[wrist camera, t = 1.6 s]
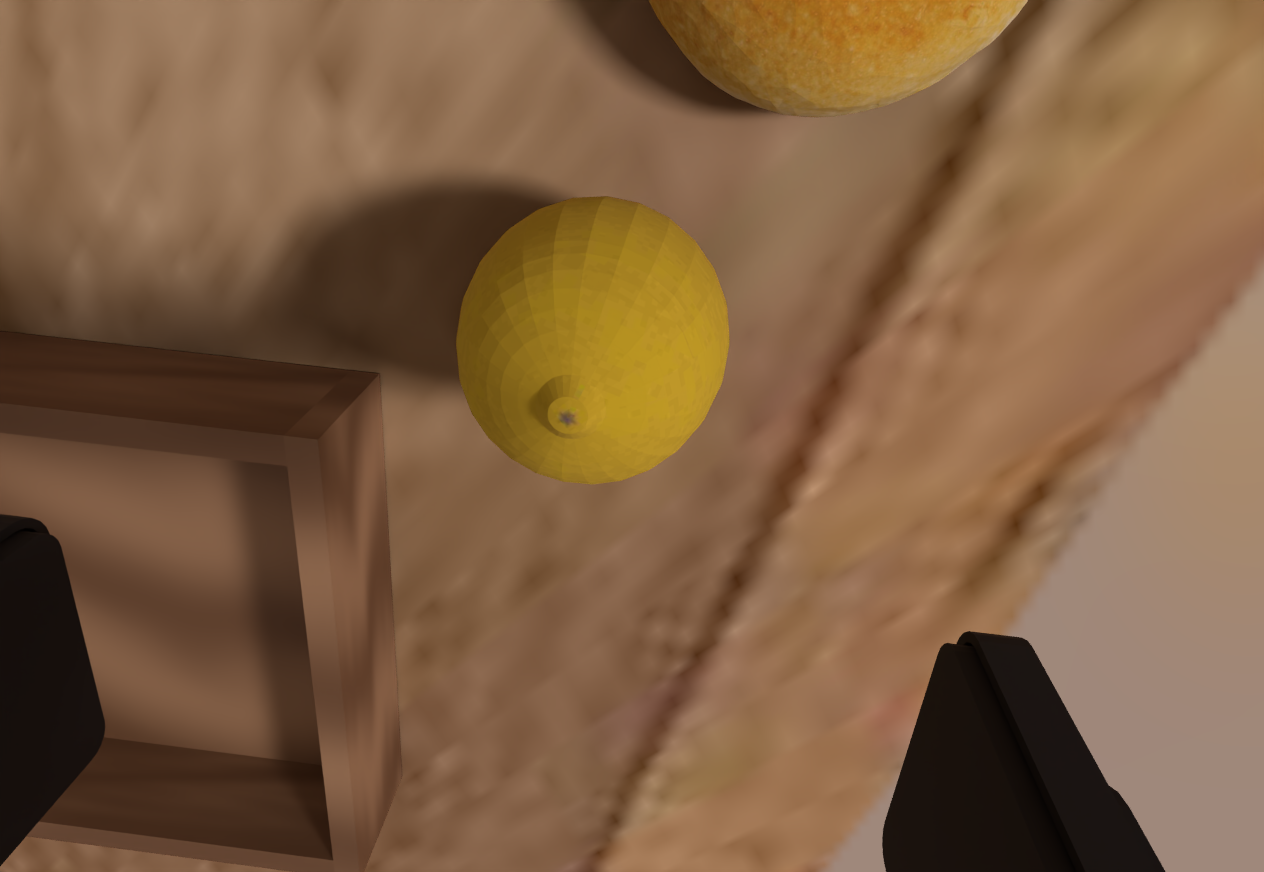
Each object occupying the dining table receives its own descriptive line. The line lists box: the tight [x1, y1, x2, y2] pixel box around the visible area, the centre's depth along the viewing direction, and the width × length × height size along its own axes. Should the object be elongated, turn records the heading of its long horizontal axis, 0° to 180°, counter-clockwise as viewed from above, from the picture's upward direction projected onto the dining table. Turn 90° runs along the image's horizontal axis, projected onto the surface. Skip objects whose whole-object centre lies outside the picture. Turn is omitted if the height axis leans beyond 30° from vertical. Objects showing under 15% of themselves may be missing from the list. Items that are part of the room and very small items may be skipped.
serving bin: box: [0, 331, 402, 872], centre depth 24 cm, size 16×16×4 cm
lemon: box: [456, 196, 729, 484], centre depth 17 cm, size 6×6×8 cm
